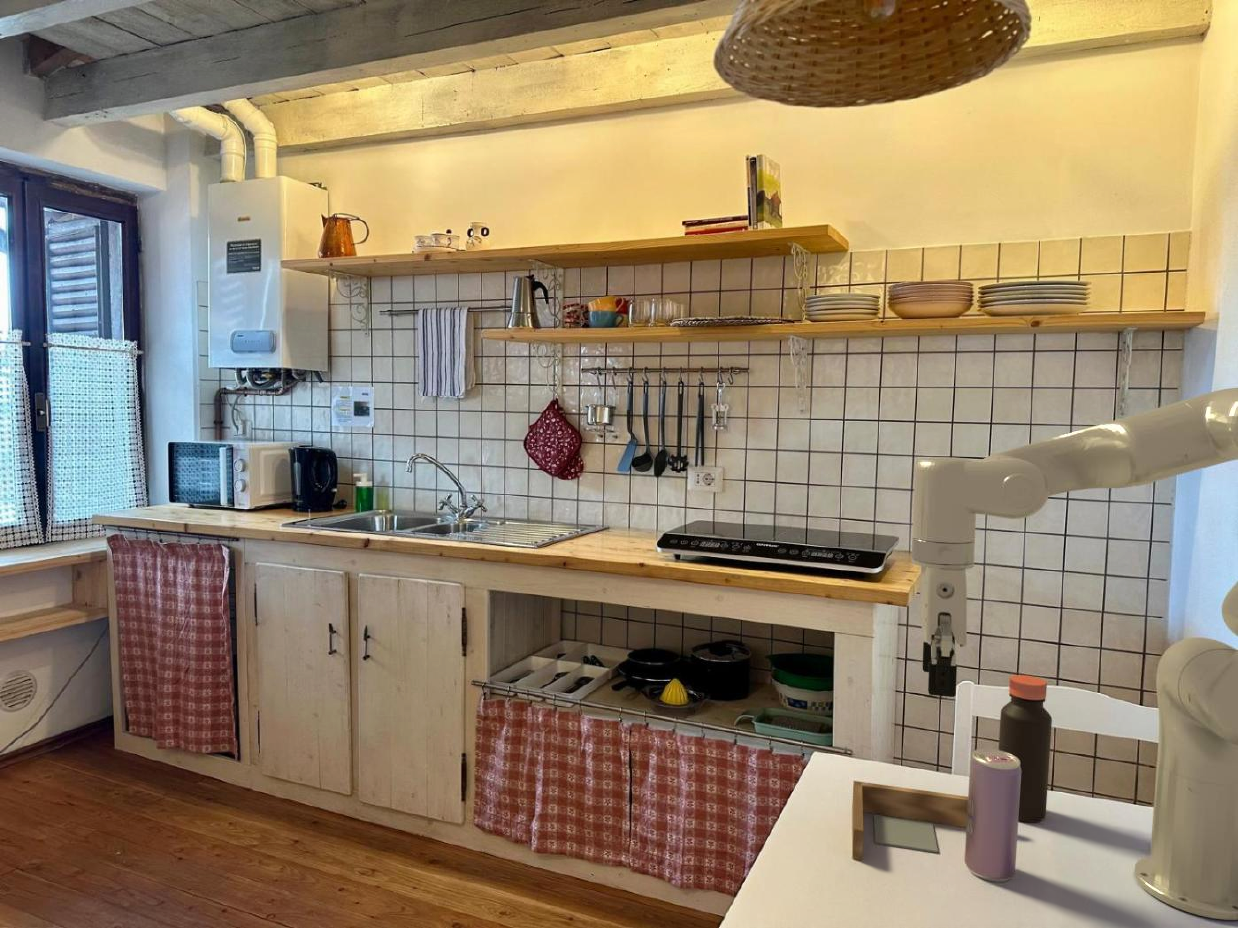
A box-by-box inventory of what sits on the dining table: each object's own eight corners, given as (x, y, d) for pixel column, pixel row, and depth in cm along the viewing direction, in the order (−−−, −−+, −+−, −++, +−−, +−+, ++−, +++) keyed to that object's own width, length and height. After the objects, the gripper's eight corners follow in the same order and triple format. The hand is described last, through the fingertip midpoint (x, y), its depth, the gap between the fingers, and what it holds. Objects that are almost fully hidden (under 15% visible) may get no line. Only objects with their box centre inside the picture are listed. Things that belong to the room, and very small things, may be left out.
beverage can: (1020, 886, 105) (1027, 769, 104) (969, 879, 106) (976, 764, 105) (1008, 861, 111) (1015, 750, 110) (960, 855, 112) (966, 745, 111)
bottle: (1027, 827, 120) (1035, 690, 119) (985, 807, 126) (993, 676, 125) (1055, 817, 124) (1064, 683, 123) (1013, 798, 130) (1021, 670, 128)
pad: (932, 825, 120) (932, 823, 120) (937, 853, 113) (937, 850, 113) (873, 816, 122) (873, 814, 122) (875, 843, 115) (875, 841, 115)
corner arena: (998, 828, 120) (999, 800, 120) (1018, 885, 105) (1020, 854, 105) (852, 806, 125) (853, 780, 125) (852, 858, 111) (853, 828, 110)
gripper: (983, 566, 100) (978, 708, 101) (965, 544, 116) (961, 666, 117) (916, 562, 102) (911, 702, 103) (908, 541, 118) (904, 662, 119)
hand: (938, 683), depth 110 cm, fingers open, 9 cm apart
